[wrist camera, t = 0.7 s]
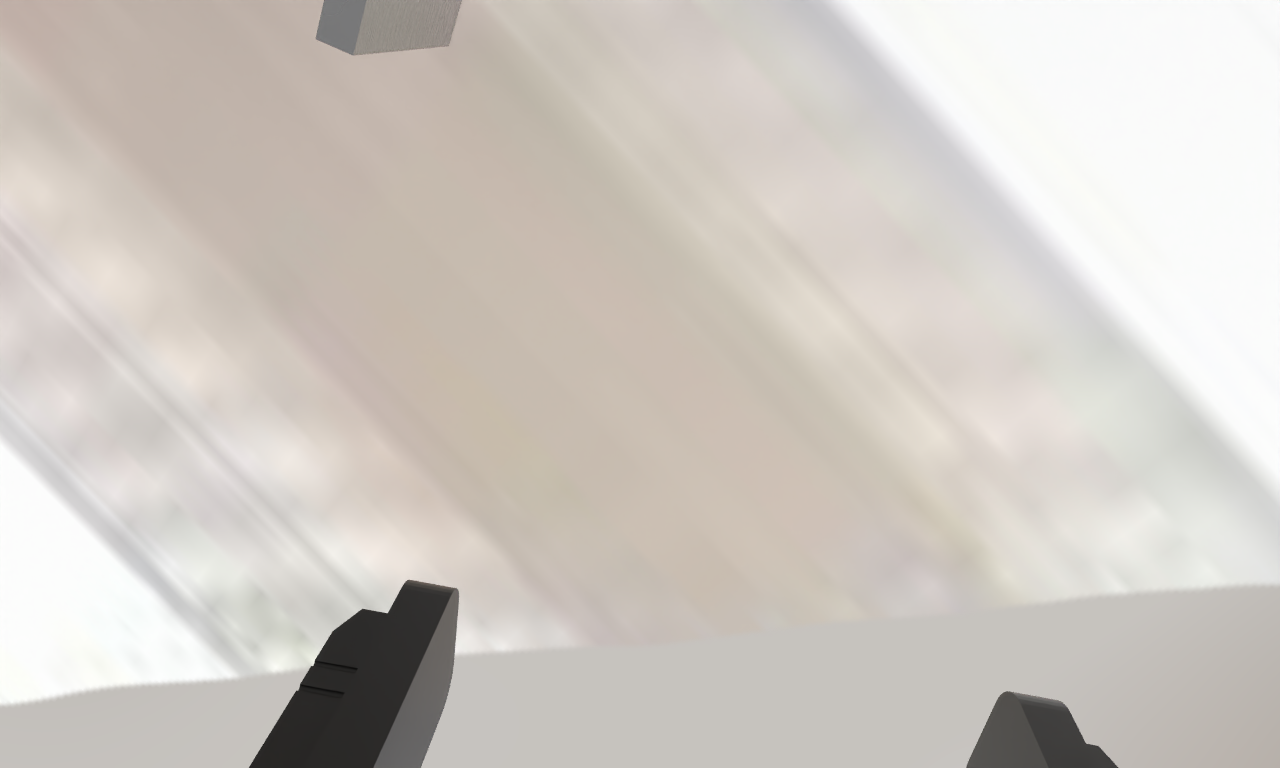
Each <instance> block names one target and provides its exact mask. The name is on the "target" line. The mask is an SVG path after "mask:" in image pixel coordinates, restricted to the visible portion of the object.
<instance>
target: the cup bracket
mask: <svg viewBox="0 0 1280 768" xmlns="http://www.w3.org/2000/svg"><path fill="white" fill-rule="evenodd" d="M461 1H462V0H324V3H323V8H322V12H321V17H320V21H319V26H318V31H317V35H316V39H317V40H319V41H321V42H324V43H326V44H328V45H330V46H333V47H335V48H337V49H340V50H342V51H344V52H347V53H349V54H351V55H363V54H373V53H383V52H393V51H403V50H413V49H424V48H434V47H444V46H449V42H450V39H451V35H452V32H453V28H454V25H455V21H456V18H457V14H458V11H459V8H460V4H461Z"/></svg>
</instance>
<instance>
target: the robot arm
mask: <svg viewBox="0 0 1280 768" xmlns="http://www.w3.org/2000/svg"><path fill="white" fill-rule="evenodd" d="M458 604H459V591H458V589H457V588H451V587H446V586H440V585H435V584H429V583H424V582H419V581H413V580H407V581H406V582H405V583H404V585H403V587H402V588H401V590H400V592H399V594H398V596H397V597H396V599H395V601H394V603H393V605H392V607H391V608H390V610H389V612H388V613H382V612H377V611H371V610H366V609H362V610H360V611H359V612H358V613H356V614H355V615H354V616H352V617H351V618H350V619H348V620H347V621H346V622H344V623H343V624H342V625H341V626H339V627H338V628H337V629H335V630H334V631H333V632H332V633H331V635H330V637H329V638H328V640H327V642H326V643H325V645H324V646H323V648H322V650H321V651H320V653H319V655H318V656H317V658H316V659H315V663H314V666H311V668H310V669H309V671H308V673H307V674H306V676H305V677H304V679H303V681H302V682H301V684H300V688H299V690H298V691H296V692H295V694H294V695H293V697H292V698H291V700H290V702H289V703H288V705H287V707H286V708H285V710H284V711H283V713H282V715H281V716H280V718H279V720H278V721H277V723H276V725H275V726H274V728H273V729H272V731H271V733H270V734H269V736H268V738H267V739H266V741H265V743H264V744H263V746H262V747H261V749H260V750H259V752H258V754H257V755H256V757H255V759H254V760H253V762H252V764H251V765H250V767H249V768H421V766H422V763H423V760H424V758H425V755H426V753H427V750H428V748H429V745H430V742H431V740H432V737H433V735H434V732H435V730H436V727H437V724H438V722H439V719H440V717H441V714H442V711H443V709H444V706H445V702H446V699H447V696H448V692H449V688H450V683H451V679H452V673H453V665H454V653H455V641H456V629H457V616H458ZM967 768H1118V767H1117V766H1116V765H1115V764H1114V763H1113V761H1112V760H1111V759H1110V758H1109V757H1108V756H1107V755H1106V754H1105V753H1104V752H1103V751H1102V750H1101V748H1100V747H1098V746H1095V745H1090V744H1086V743H1085V741H1084V739H1083V737H1082V735H1081V733H1080V732H1079V729H1078V727H1077V725H1076V723H1075V721H1074V719H1073V717H1072V715H1071V713H1070V711H1069V710H1068V708H1067V707H1066V706H1065V704H1063V703H1062V702H1061V701H1058V700H1053V699H1047V698H1042V697H1036V696H1030V695H1025V694H1020V693H1014V692H1004V693H1003V694H1001V695H1000V697H999V698H998V700H997V702H996V704H995V706H994V708H993V710H992V712H991V714H990V716H989V719H988V721H987V723H986V725H985V727H984V729H983V731H982V733H981V736H980V738H979V740H978V742H977V744H976V746H975V749H974V751H973V753H972V755H971V757H970V759H969V762H968V764H967Z"/></svg>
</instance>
